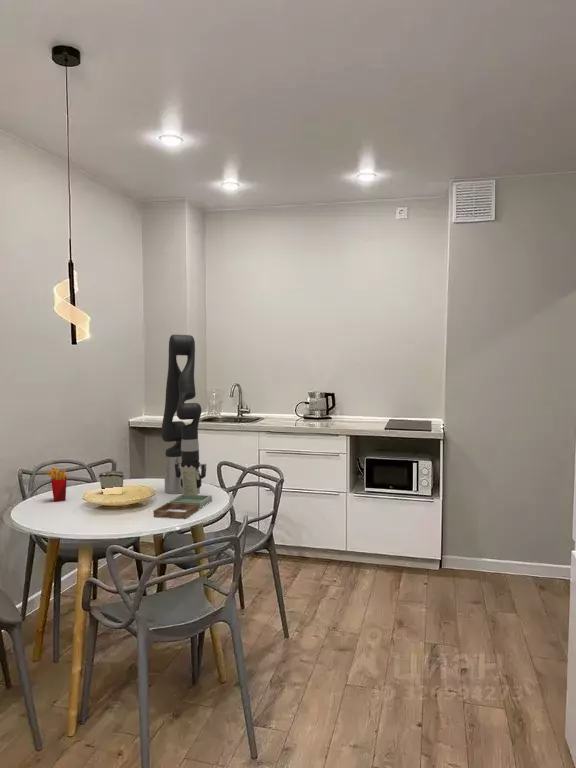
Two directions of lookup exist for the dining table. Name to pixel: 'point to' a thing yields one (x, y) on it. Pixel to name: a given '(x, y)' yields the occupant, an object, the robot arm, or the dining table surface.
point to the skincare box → (190, 481)
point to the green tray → (193, 499)
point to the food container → (111, 479)
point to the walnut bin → (173, 514)
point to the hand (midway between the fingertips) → (191, 487)
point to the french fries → (58, 484)
